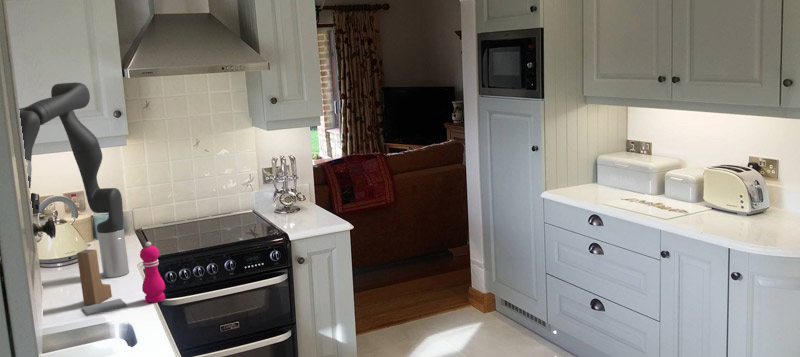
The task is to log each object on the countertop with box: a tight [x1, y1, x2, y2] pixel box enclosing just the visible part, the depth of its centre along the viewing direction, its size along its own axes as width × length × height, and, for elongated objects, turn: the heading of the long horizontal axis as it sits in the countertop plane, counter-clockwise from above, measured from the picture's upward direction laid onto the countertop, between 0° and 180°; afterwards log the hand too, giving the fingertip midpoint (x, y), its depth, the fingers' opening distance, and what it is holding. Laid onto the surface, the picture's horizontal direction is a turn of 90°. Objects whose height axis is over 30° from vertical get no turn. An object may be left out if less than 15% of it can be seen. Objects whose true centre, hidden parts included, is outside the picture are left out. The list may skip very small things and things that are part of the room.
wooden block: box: [76, 249, 113, 306], centre depth 239 cm, size 9×4×18 cm, turn 166°
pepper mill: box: [139, 241, 166, 304], centre depth 236 cm, size 7×7×20 cm
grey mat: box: [81, 298, 128, 316], centre depth 233 cm, size 8×12×1 cm
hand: (13, 229), depth 213 cm, fingers open, 8 cm apart
